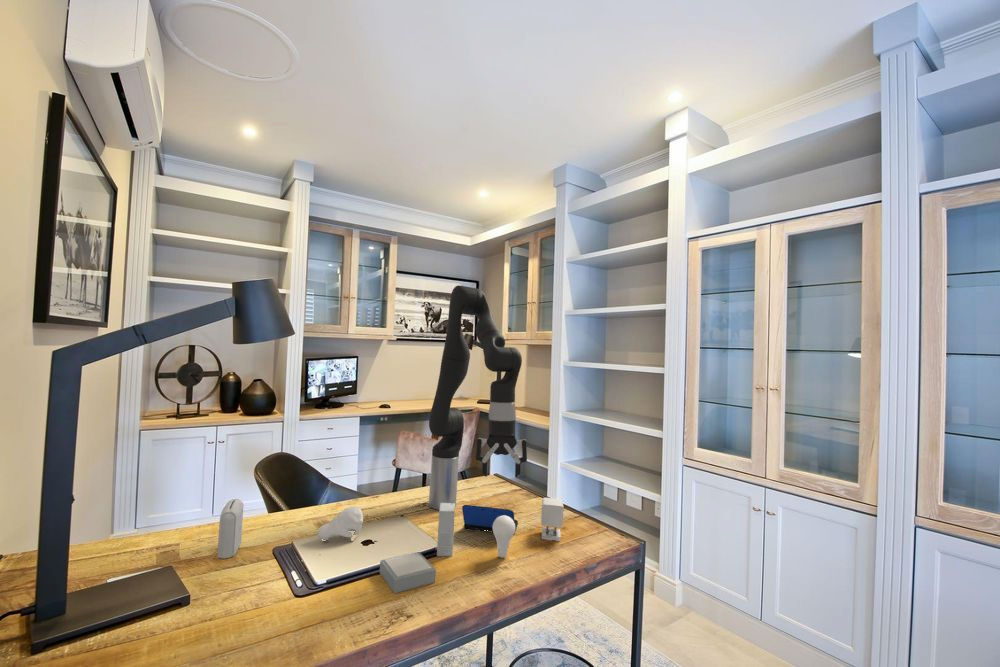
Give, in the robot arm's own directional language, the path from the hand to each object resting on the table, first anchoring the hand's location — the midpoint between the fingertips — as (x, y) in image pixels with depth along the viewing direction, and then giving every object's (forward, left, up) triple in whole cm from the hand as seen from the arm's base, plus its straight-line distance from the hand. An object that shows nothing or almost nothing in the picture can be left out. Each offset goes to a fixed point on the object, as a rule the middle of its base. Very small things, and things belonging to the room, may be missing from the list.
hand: (501, 476), depth 127 cm
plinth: (+4, -28, -20) cm, 34 cm away
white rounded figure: (-23, -37, -20) cm, 48 cm away
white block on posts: (+1, +19, -20) cm, 28 cm away
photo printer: (-29, -63, -20) cm, 72 cm away
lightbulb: (+6, -2, -20) cm, 21 cm away
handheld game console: (-11, +5, -20) cm, 24 cm away
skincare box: (-4, -14, -20) cm, 25 cm away
